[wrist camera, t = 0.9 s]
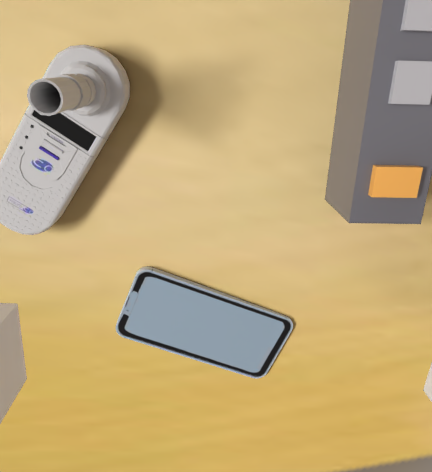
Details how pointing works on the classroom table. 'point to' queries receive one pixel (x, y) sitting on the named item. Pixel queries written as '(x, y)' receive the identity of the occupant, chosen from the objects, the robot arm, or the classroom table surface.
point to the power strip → (383, 114)
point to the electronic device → (60, 136)
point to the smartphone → (202, 323)
